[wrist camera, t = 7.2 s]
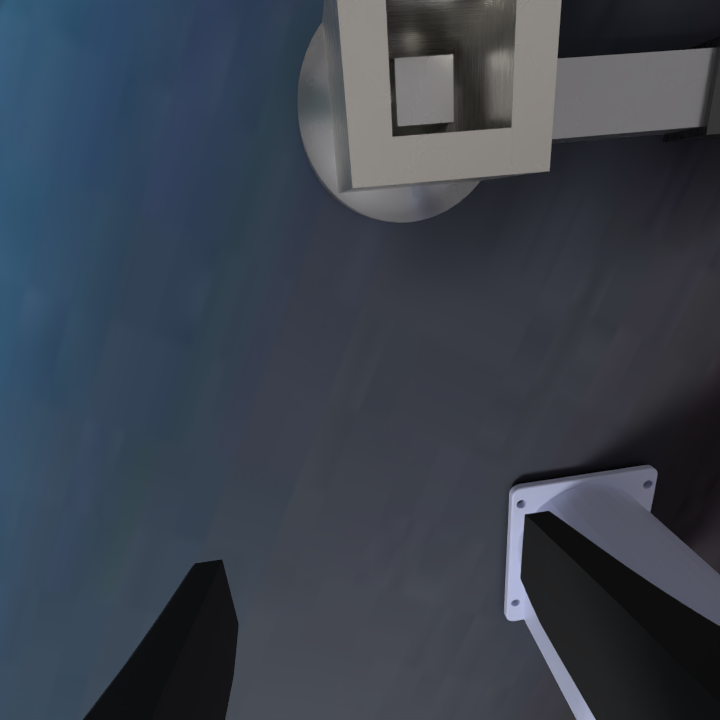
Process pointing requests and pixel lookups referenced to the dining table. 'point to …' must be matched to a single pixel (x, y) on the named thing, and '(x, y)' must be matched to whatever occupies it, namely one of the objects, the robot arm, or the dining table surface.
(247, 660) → the dining table surface
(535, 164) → the socket
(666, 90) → the ratchet
